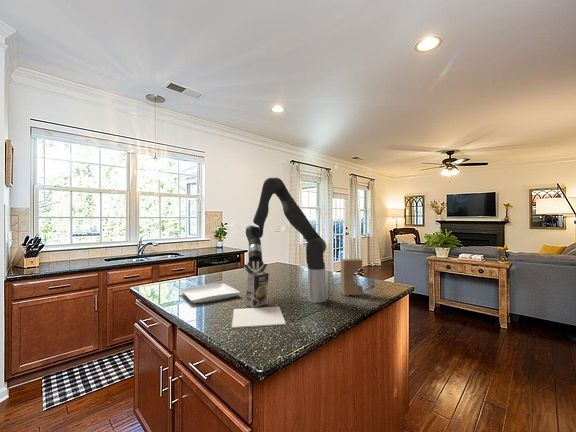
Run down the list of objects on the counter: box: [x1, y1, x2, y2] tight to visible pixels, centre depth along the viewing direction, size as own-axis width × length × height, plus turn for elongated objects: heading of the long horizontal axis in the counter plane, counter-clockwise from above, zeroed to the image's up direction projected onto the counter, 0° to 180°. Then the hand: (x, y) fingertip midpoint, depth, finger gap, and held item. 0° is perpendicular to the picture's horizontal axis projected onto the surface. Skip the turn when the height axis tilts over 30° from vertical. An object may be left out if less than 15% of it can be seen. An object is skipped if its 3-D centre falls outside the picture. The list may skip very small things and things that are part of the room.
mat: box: [231, 306, 287, 329], centre depth 124 cm, size 22×22×1 cm
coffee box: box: [245, 270, 270, 308], centre depth 140 cm, size 9×6×16 cm
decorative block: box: [340, 258, 364, 297], centre depth 159 cm, size 11×6×20 cm, turn 99°
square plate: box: [178, 283, 241, 304], centre depth 157 cm, size 27×27×4 cm
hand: (256, 280), depth 144 cm, fingers closed
